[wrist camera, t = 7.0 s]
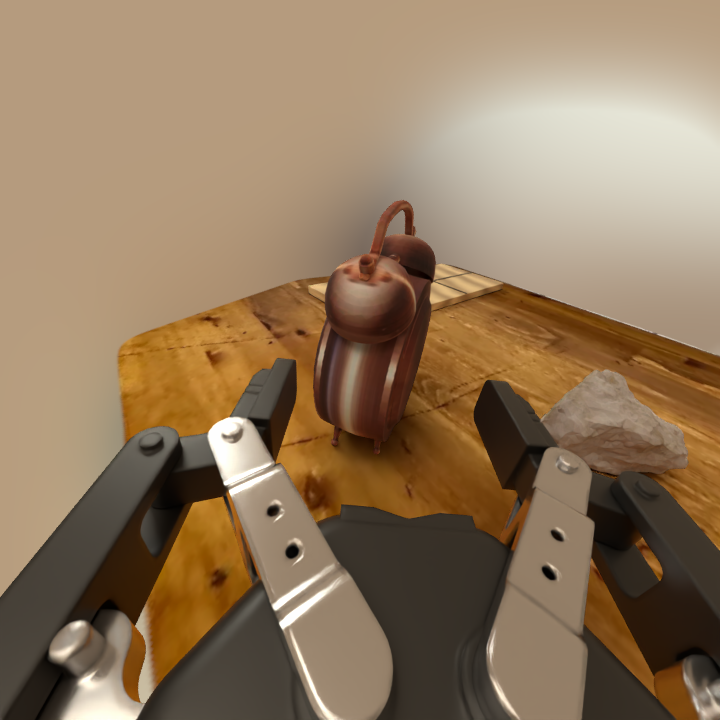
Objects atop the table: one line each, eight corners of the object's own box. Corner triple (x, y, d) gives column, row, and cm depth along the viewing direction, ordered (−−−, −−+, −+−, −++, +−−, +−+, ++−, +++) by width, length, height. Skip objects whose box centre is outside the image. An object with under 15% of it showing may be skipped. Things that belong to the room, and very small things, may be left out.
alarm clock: (363, 376, 28) (386, 193, 20) (414, 392, 27) (460, 202, 19) (304, 465, 19) (304, 197, 11) (376, 493, 18) (434, 216, 10)
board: (372, 330, 36) (373, 319, 36) (308, 293, 45) (308, 284, 44) (501, 289, 57) (504, 282, 56) (441, 269, 65) (442, 262, 64)
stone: (597, 526, 17) (660, 458, 14) (494, 430, 23) (522, 368, 20) (681, 477, 21) (744, 415, 18) (573, 405, 27) (607, 350, 24)
